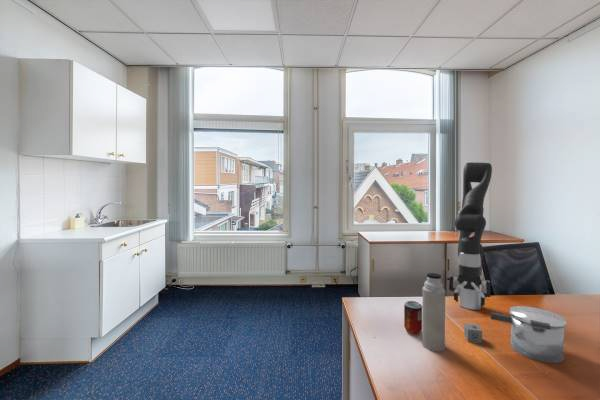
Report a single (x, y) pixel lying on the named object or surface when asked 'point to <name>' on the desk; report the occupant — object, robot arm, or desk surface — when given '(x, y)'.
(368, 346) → the desk surface
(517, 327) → the pressure cooker pot
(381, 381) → the desk surface
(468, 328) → the dice cube
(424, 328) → the thermos bottle
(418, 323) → the soda can
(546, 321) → the pressure cooker lid
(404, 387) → the desk surface
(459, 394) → the desk surface
